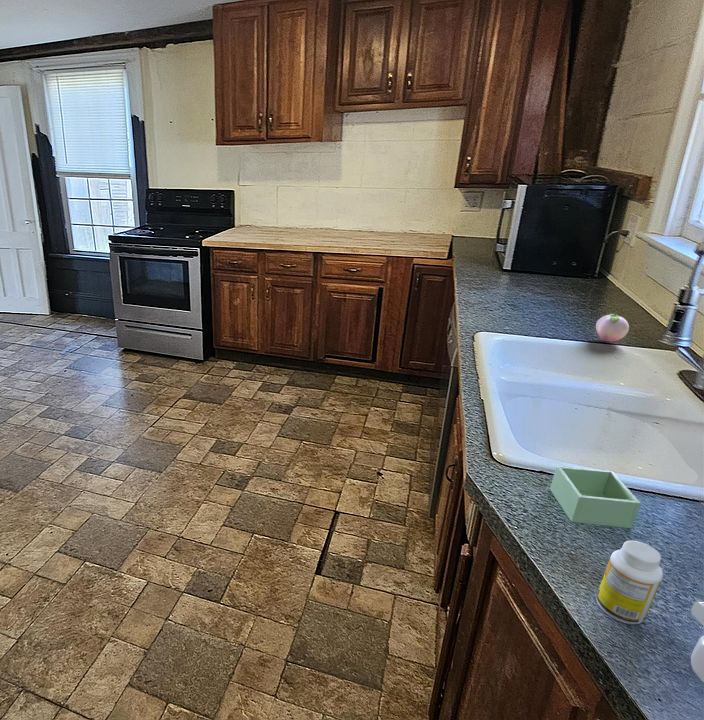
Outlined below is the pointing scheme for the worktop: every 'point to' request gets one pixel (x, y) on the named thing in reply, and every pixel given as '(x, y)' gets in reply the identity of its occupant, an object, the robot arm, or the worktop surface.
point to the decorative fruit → (612, 327)
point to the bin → (594, 497)
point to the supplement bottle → (630, 582)
